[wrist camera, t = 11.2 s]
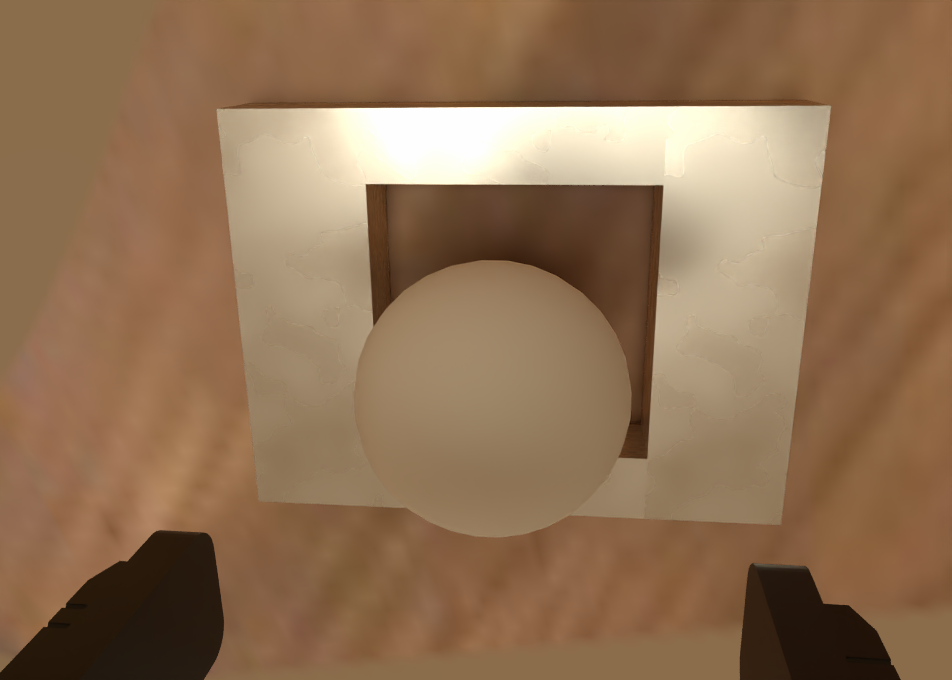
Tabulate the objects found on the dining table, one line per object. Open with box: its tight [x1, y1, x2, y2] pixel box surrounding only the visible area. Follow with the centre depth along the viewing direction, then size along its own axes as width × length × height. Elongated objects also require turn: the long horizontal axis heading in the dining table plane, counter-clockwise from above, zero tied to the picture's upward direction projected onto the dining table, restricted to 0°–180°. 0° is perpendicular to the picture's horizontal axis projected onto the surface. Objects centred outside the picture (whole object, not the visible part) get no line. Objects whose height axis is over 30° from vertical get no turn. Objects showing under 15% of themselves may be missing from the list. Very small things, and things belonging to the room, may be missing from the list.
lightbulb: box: [354, 260, 632, 537], centre depth 21 cm, size 6×6×11 cm
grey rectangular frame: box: [217, 100, 831, 525], centre depth 25 cm, size 16×12×2 cm
